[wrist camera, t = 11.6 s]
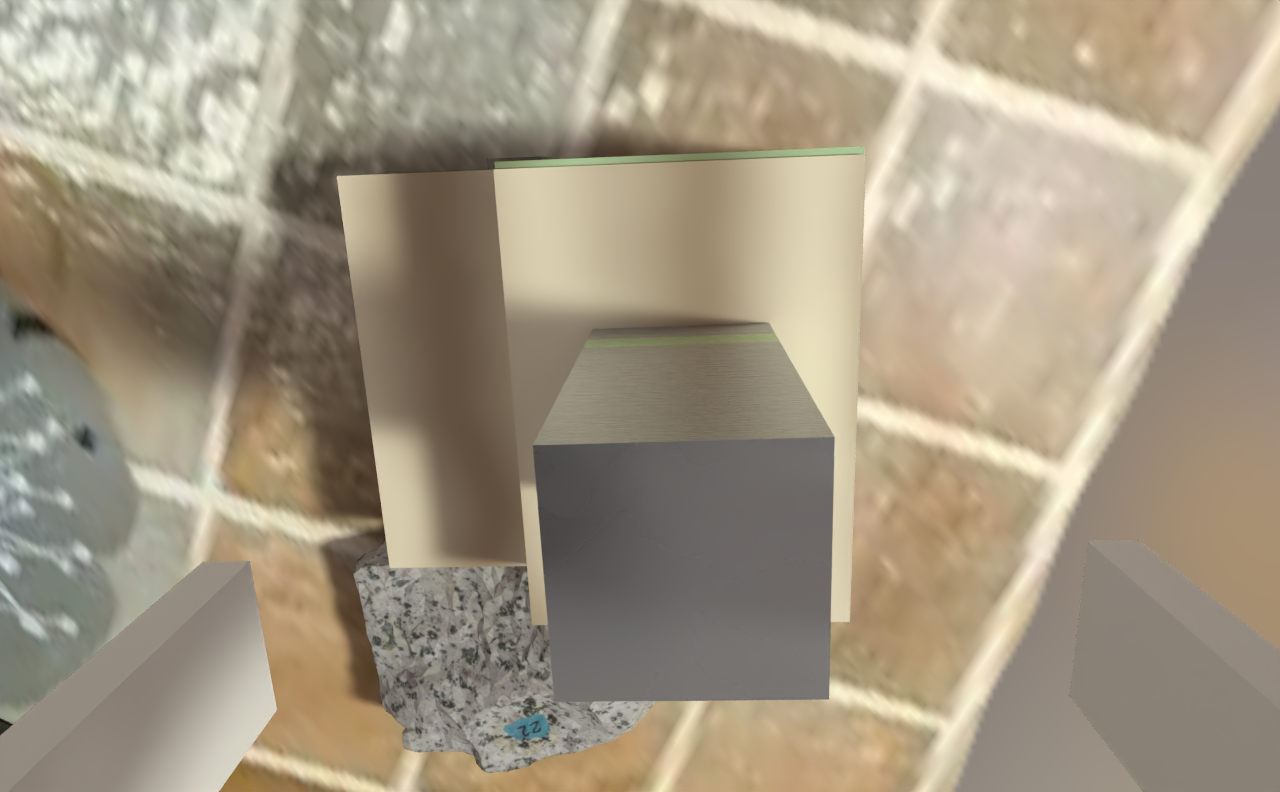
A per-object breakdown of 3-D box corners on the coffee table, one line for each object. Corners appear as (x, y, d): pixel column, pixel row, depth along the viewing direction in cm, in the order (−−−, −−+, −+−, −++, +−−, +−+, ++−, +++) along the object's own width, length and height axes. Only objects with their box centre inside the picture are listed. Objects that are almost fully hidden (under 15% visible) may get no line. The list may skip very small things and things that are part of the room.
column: (602, 492, 25) (554, 701, 15) (592, 328, 23) (532, 444, 14) (769, 487, 24) (829, 699, 15) (769, 322, 23) (834, 436, 13)
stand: (422, 522, 34) (347, 627, 26) (379, 166, 30) (276, 166, 22) (809, 515, 33) (849, 621, 25) (816, 148, 29) (866, 142, 22)
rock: (402, 710, 37) (360, 793, 33) (371, 519, 34) (321, 580, 30) (682, 708, 36) (682, 794, 32) (675, 513, 34) (673, 575, 29)
